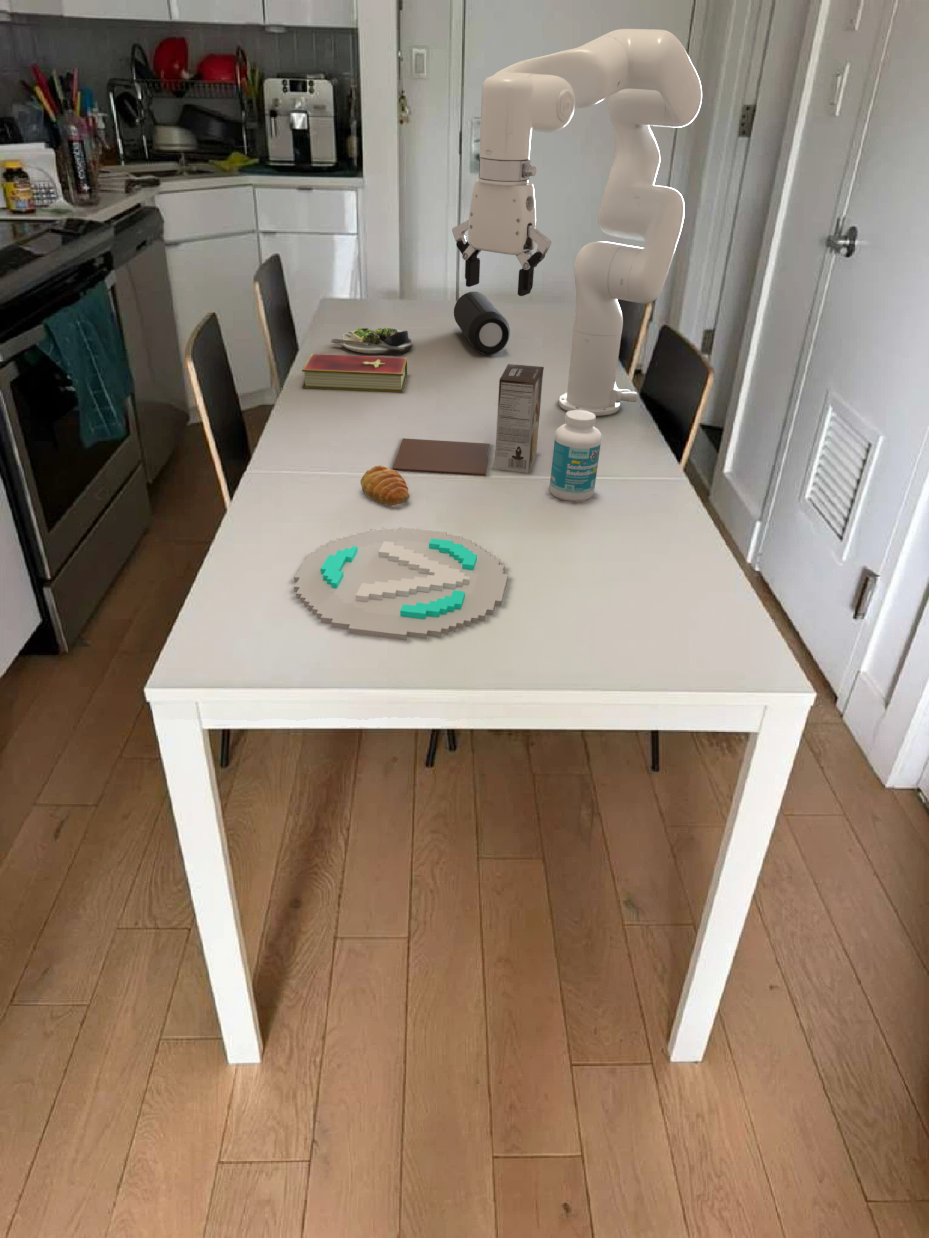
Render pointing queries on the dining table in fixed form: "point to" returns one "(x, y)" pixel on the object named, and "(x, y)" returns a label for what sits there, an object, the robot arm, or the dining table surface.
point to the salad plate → (376, 341)
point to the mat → (442, 457)
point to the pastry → (385, 486)
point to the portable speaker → (481, 323)
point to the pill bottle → (575, 457)
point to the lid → (401, 583)
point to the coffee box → (518, 417)
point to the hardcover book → (355, 373)
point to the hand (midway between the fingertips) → (497, 289)
